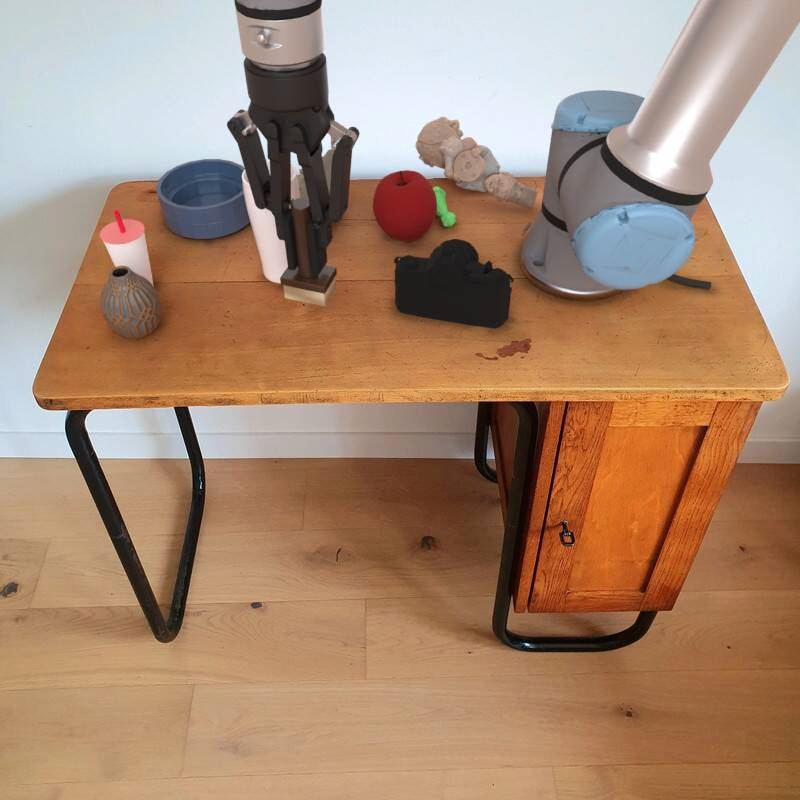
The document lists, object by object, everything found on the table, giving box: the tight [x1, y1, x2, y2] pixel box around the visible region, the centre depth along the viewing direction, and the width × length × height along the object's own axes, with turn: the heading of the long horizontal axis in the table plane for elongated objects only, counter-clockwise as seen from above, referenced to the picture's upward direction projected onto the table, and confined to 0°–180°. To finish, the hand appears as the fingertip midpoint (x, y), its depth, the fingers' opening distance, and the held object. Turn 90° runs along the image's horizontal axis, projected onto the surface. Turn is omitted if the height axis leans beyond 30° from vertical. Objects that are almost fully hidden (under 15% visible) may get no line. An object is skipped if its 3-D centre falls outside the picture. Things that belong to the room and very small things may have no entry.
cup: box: [99, 209, 154, 286], centre depth 98 cm, size 5×5×12 cm
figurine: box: [415, 116, 539, 209], centre depth 116 cm, size 9×8×20 cm
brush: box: [280, 198, 338, 307], centre depth 86 cm, size 5×4×12 cm
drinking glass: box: [242, 159, 300, 285], centre depth 99 cm, size 7×7×15 cm
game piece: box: [432, 186, 458, 228], centre depth 111 cm, size 4×4×6 cm
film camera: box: [393, 238, 515, 329], centre depth 97 cm, size 15×10×9 cm, turn 74°
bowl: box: [155, 158, 250, 240], centre depth 112 cm, size 13×13×6 cm
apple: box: [372, 169, 437, 242], centre depth 106 cm, size 9×9×10 cm
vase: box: [100, 266, 163, 339], centre depth 94 cm, size 7×7×9 cm
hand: (307, 265), depth 87 cm, fingers closed on brush, 2 cm apart
